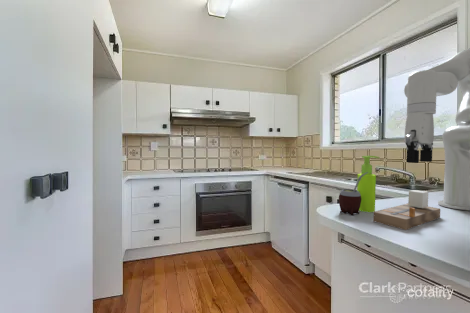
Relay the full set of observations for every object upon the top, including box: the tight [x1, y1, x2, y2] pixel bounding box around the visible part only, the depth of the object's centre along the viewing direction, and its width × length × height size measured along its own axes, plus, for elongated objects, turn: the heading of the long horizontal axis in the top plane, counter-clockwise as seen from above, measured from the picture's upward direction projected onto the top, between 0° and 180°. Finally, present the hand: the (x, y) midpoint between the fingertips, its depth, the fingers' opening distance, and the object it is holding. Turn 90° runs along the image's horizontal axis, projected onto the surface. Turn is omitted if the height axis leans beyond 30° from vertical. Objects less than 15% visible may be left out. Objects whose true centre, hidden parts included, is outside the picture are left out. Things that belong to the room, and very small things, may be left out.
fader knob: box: [407, 189, 429, 208], centre depth 79 cm, size 4×4×5 cm
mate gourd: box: [338, 172, 368, 216], centre depth 82 cm, size 8×8×15 cm
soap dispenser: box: [356, 155, 380, 213], centre depth 86 cm, size 6×7×20 cm
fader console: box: [372, 203, 441, 231], centre depth 76 cm, size 23×9×6 cm, turn 121°
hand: (419, 162), depth 79 cm, fingers open, 9 cm apart
